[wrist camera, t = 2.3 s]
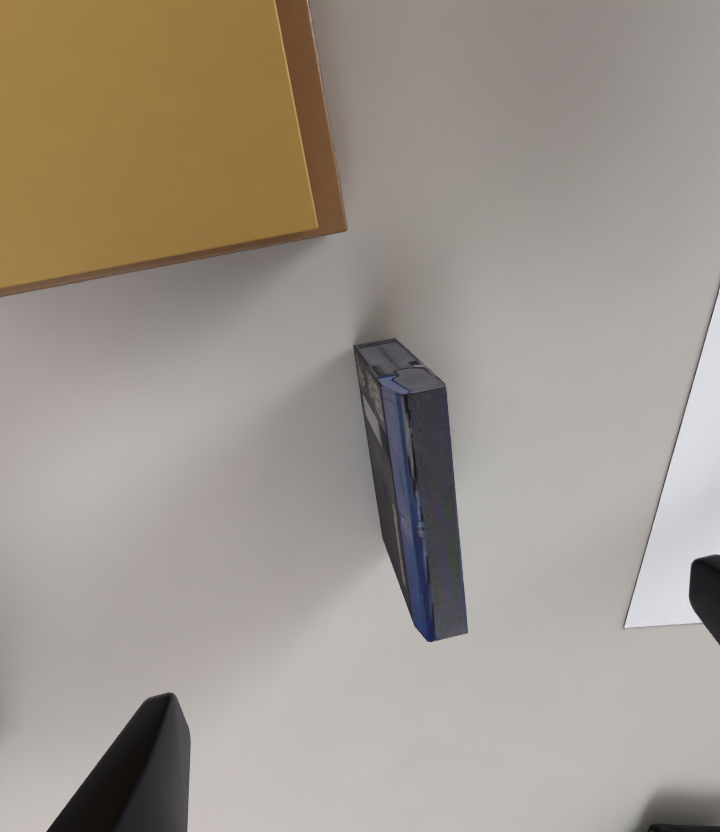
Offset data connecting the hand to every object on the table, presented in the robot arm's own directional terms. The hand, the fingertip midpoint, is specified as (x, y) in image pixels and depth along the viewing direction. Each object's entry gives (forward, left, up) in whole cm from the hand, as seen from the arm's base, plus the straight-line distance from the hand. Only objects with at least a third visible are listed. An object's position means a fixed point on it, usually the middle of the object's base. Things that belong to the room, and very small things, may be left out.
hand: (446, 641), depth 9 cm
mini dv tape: (-1, +2, -12) cm, 12 cm away
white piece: (-23, +7, -12) cm, 27 cm away
